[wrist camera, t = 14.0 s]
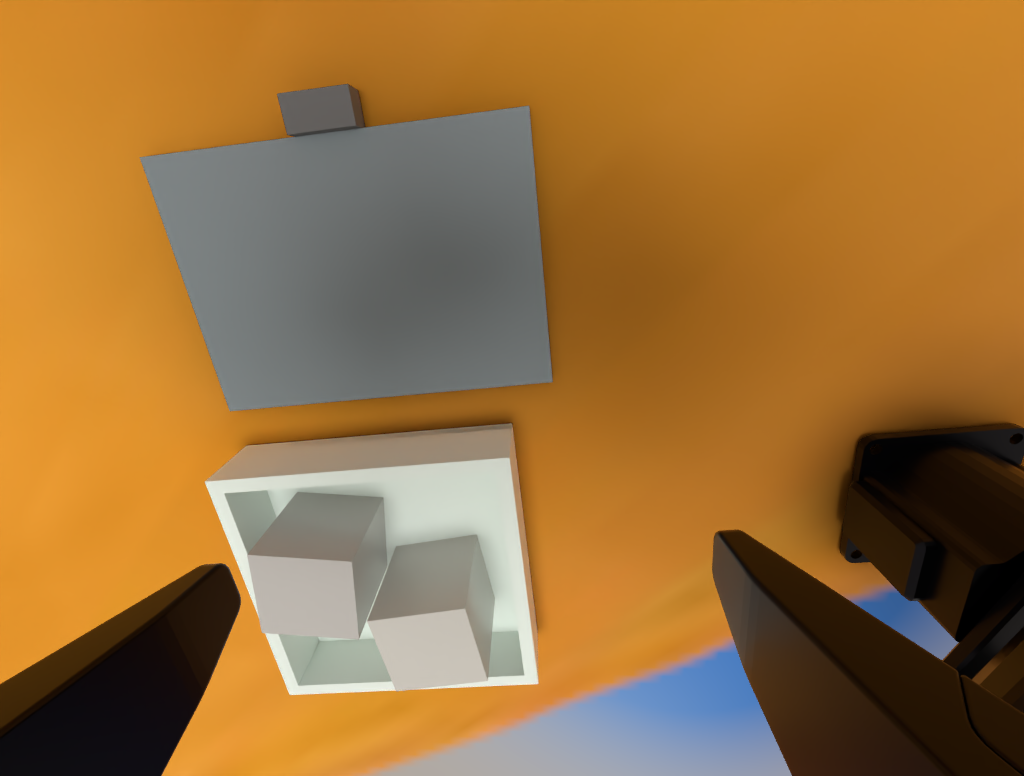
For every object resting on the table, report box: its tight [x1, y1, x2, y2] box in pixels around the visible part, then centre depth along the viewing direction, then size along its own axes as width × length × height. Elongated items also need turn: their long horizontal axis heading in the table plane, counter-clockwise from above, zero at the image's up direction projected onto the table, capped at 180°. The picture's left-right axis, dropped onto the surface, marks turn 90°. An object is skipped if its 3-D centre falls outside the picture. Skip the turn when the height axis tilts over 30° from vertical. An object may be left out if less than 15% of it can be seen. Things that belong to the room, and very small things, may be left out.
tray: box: [205, 423, 538, 695], centre depth 22 cm, size 12×12×3 cm
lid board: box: [140, 84, 553, 411], centre depth 18 cm, size 14×11×1 cm
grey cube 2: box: [247, 492, 387, 640], centre depth 21 cm, size 4×4×4 cm
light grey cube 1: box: [367, 534, 495, 691], centre depth 21 cm, size 4×4×4 cm
